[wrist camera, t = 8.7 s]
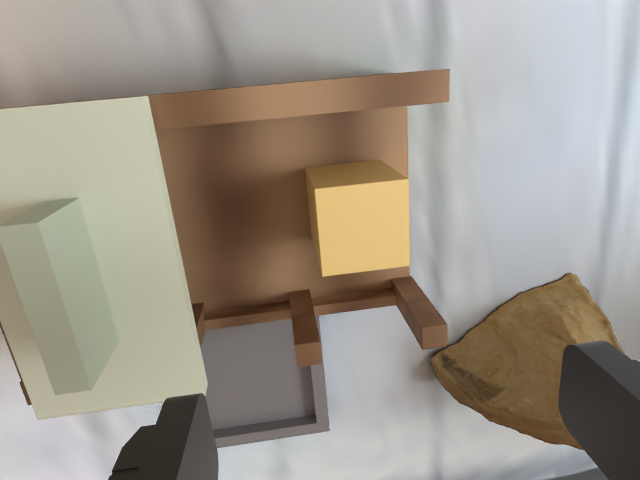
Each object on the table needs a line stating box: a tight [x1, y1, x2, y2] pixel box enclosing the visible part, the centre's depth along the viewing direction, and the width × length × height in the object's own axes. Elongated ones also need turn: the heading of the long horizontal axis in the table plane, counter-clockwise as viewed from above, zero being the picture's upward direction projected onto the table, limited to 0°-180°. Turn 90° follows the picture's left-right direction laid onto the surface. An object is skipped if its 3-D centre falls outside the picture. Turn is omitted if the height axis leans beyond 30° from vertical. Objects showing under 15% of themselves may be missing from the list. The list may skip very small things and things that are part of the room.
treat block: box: [305, 160, 410, 277], centre depth 21 cm, size 4×4×5 cm
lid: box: [0, 96, 208, 420], centre depth 16 cm, size 7×12×4 cm, turn 5°
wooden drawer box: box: [0, 69, 450, 405], centre depth 22 cm, size 19×12×8 cm, turn 95°
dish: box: [201, 315, 330, 448], centre depth 28 cm, size 9×9×1 cm
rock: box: [431, 273, 624, 450], centre depth 27 cm, size 11×9×10 cm
